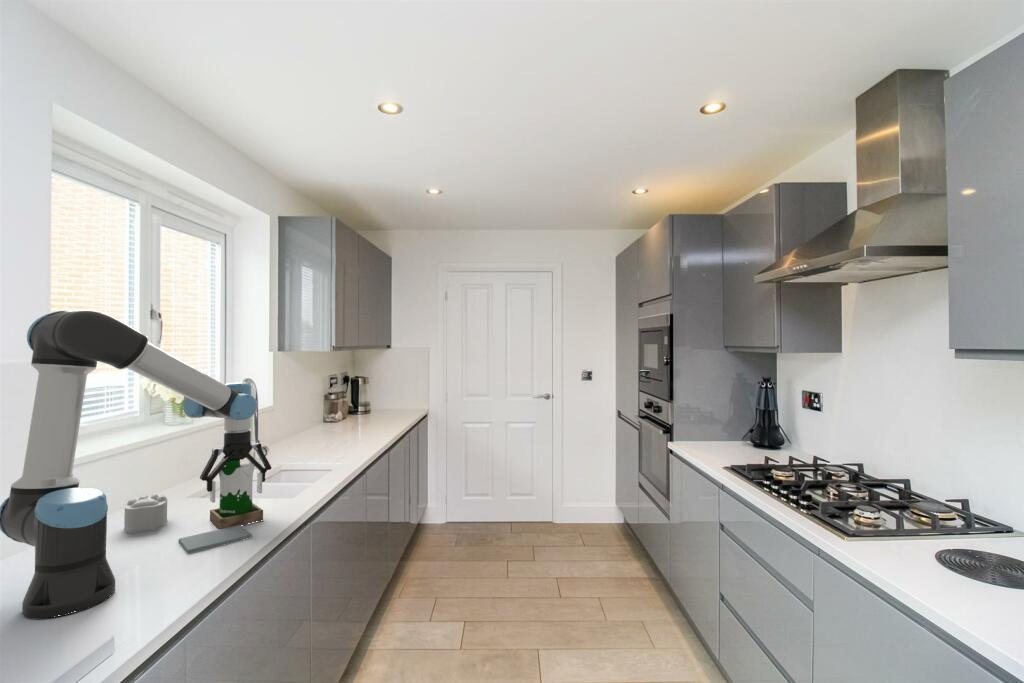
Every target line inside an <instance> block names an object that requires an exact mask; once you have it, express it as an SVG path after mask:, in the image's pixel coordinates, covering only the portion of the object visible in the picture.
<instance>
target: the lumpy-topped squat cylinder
mask: <svg viewBox="0 0 1024 683" xmlns="http://www.w3.org/2000/svg"><path fill="white" fill-rule="evenodd" d="M166 522H167V523H168V498H167V496H165V495H158V494H157V493H153V494H151V495H150V496H148V495H146V494H143V495H141V496H140V497H138V498H130V499H129V500H128V501H127V504H125V506H124V523H123V524H124V525H123V526H124V528H123V531H125V532H127V533H126V534H133V532H135V533H139V531H140V532H145V531H146V532H148V531H153V530H154V529H155V530H158V528H159V529H160V528H163V527H165V525H167V523H166ZM147 530H148V531H147ZM125 532H124V533H125Z"/></svg>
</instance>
